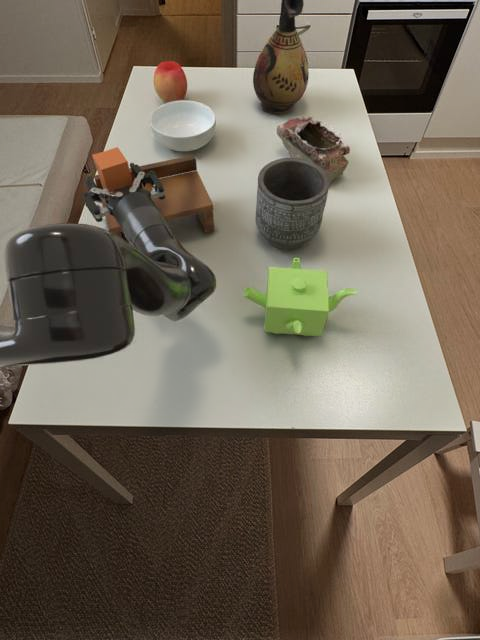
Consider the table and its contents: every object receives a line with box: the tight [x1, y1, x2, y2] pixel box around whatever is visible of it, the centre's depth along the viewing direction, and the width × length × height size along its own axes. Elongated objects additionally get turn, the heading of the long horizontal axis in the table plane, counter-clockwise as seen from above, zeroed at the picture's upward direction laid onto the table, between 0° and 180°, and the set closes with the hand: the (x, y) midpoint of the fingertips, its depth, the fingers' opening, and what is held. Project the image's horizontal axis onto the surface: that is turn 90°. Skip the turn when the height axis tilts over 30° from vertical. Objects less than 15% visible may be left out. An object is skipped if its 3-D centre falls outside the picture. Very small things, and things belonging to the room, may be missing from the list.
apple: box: [153, 60, 188, 103], centre depth 119 cm, size 10×10×10 cm
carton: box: [91, 146, 133, 198], centre depth 81 cm, size 5×5×12 cm
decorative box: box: [276, 115, 351, 183], centre depth 103 cm, size 13×20×10 cm, turn 28°
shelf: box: [93, 154, 215, 239], centre depth 90 cm, size 22×14×11 cm, turn 110°
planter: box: [255, 157, 331, 251], centre depth 87 cm, size 14×14×15 cm
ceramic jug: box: [252, 0, 310, 116], centre depth 110 cm, size 17×15×30 cm
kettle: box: [242, 257, 358, 337], centre depth 76 cm, size 15×14×11 cm
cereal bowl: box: [149, 99, 217, 152], centre depth 109 cm, size 17×17×7 cm
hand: (111, 173), depth 81 cm, fingers open, 8 cm apart
